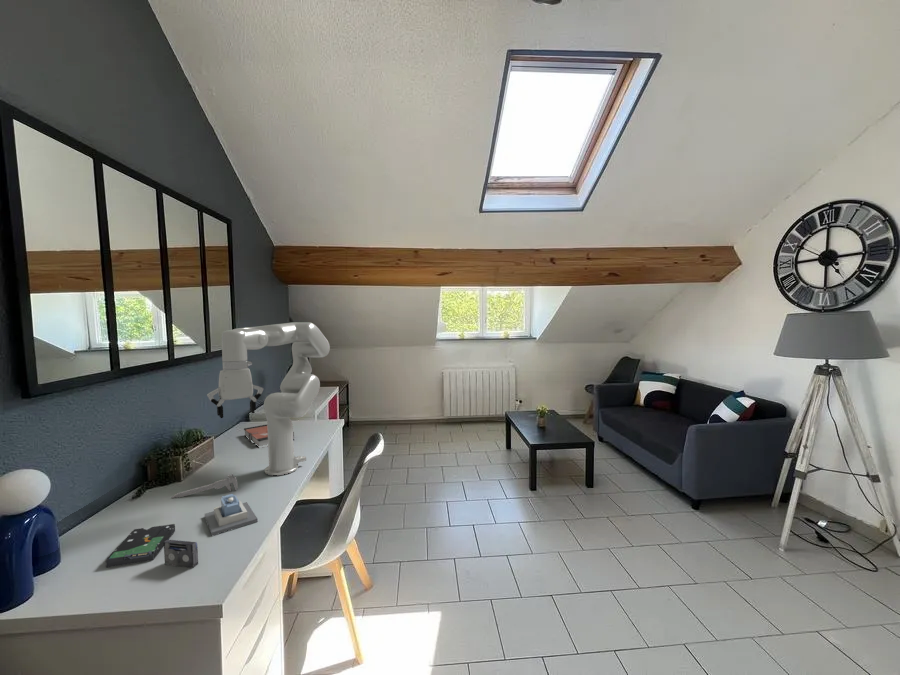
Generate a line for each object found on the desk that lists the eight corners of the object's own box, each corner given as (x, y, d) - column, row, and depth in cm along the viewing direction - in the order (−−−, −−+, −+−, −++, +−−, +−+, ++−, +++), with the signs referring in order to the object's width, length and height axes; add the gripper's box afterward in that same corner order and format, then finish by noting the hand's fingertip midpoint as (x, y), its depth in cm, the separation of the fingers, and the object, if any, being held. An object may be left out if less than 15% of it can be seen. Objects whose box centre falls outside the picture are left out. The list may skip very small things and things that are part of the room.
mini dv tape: (198, 564, 99) (197, 541, 99) (193, 568, 98) (192, 544, 97) (170, 561, 100) (168, 538, 100) (164, 565, 99) (163, 541, 99)
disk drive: (133, 538, 112) (105, 570, 98) (133, 529, 112) (104, 559, 98) (175, 532, 115) (154, 561, 101) (175, 523, 115) (153, 551, 101)
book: (242, 437, 207) (242, 427, 206) (277, 430, 218) (276, 421, 218) (256, 449, 187) (256, 439, 187) (294, 441, 198) (293, 431, 198)
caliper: (237, 490, 142) (237, 473, 142) (237, 491, 141) (236, 474, 141) (172, 497, 137) (171, 479, 136) (171, 499, 136) (170, 481, 135)
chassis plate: (246, 505, 130) (246, 496, 130) (257, 521, 119) (257, 512, 119) (204, 516, 123) (204, 507, 123) (211, 536, 112) (211, 525, 112)
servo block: (235, 508, 126) (234, 490, 125) (241, 519, 119) (240, 500, 118) (220, 512, 123) (219, 493, 123) (225, 524, 116) (225, 504, 116)
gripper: (259, 362, 144) (261, 409, 145) (204, 367, 133) (206, 417, 134) (265, 364, 138) (266, 412, 139) (207, 369, 127) (210, 421, 128)
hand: (237, 414), depth 137 cm, fingers open, 9 cm apart
